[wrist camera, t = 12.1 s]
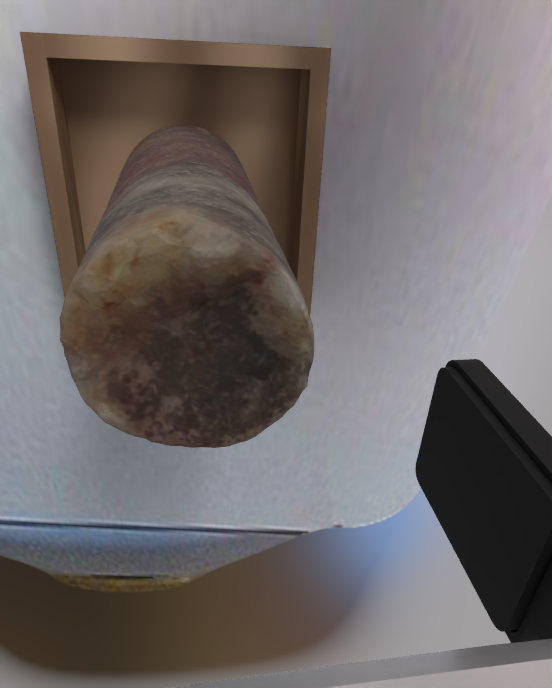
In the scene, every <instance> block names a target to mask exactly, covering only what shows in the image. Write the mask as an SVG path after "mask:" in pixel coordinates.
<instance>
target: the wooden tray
mask: <svg viewBox="0 0 552 688" xmlns="http://www.w3.org/2000/svg"><path fill="white" fill-rule="evenodd" d="M20 35H21V41H22V47H23V53H24V59H25V65H26V71H27V77H28V83H29V89H30V94H31V100H32V106H33V112H34V118H35V124H36V130H37V136H38V142H39V148H40V154H41V159H42V165H43V171H44V177H45V183H46V189H47V195H48V201H49V207H50V213H51V219H52V224H53V230H54V236H55V242H56V248H57V254H58V260H59V266H60V272H61V278H62V284H63V289H64V295H65V298H66V295H67V293H68V290H69V288H70V285H71V283H72V280H73V278H74V276H75V274H76V272H77V270H78V268H79V266H80V263H81V261H82V259H83V257H84V255H85V253H86V251H87V249H88V246H89V243H90V241H91V238H92V236H93V234H94V232H95V230H96V228H97V226H98V224H99V222H100V220H101V218H102V216H103V214H104V212H105V210H106V208H107V205H108V202H109V199H110V197H111V195H112V193H113V190H114V188H115V185H116V183H117V181H118V178H119V176H120V173H121V171H122V169H123V167H124V165H125V162H126V160H127V158H128V156H129V155H130V153H131V152H132V150H133V149H134V148H135V147H136V146H137V145H138V144H139V143H140V142H141V141H142V140H143V139H144V138H145V137H146V136H147V135H149V134H150V133H152V132H154V131H156V130H159V129H161V128H163V127H166V126H174V125H187V126H194V127H199V128H203V129H207V130H209V131H211V132H213V133H215V134H216V135H217V136H219V137H221V138H222V139H223V140H224V141H225V142H226V143H227V144H228V145H229V146H230V147H231V149H232V150H233V151H234V152H235V154H236V155H237V157H238V159H239V161H240V163H241V164H242V166H243V168H244V170H245V173H246V175H247V177H248V179H249V181H250V183H251V185H252V187H253V190H254V192H255V195H256V197H257V200H258V203H259V205H260V206H261V208H262V211H263V213H264V215H265V217H266V219H267V221H268V223H269V225H270V227H271V229H272V231H273V233H274V236H275V238H276V240H277V242H278V243H279V245H280V247H281V249H282V251H283V254H284V256H285V258H286V260H287V262H288V264H289V266H290V268H291V270H292V272H293V274H294V276H295V278H296V280H297V282H298V285H299V287H300V290H301V292H302V295H303V298H304V300H305V303H306V305H307V310H308V313H309V316H310V310H311V297H312V285H313V272H314V259H315V247H316V234H317V221H318V208H319V196H320V183H321V170H322V158H323V145H324V132H325V120H326V107H327V94H328V81H329V69H330V56H331V48H317V47H298V46H279V45H260V44H241V43H222V42H203V41H184V40H165V39H146V38H127V37H108V36H89V35H70V34H51V33H32V32H20Z"/></svg>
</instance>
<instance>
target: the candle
mask: <svg viewBox="0 0 552 688" xmlns="http://www.w3.org/2000/svg"><path fill="white" fill-rule="evenodd" d="M60 327H61V333H60V341H61V343H62V345H63V347H64V354H65V357H66V359H67V362H68V365H69V369H70V372H71V376H72V378H73V380H74V382H75V384H76V386H77V388H78V390H79V392H80V395H81V397H82V398H83V400H84V402H85V403H86V404H87V405H88V406H89V407H90V408H91V409H92V410H93V411H94V412H95V413H96V414H97V415H98V416H99V417H100V418H101V419H102V420H103V421H104V422H105V423H107V424H109V425H112V426H113V427H115V428H117V429H119V430H121V431H123V432H125V433H127V434H130V435H133V436H136V437H141V438H145V439H147V440H149V441H151V442H156V443H160V444H164V445H170V446H184V447H211V448H217V447H226V446H230V445H233V444H237V443H240V442H244V441H247V440H249V439H251V438H253V437H255V436H257V435H258V434H259V433H261V432H262V431H263V430H264V429H266V428H267V427H269V426H270V425H272V424H273V423H274V422H276V421H277V420H279V419H280V418H282V417H283V415H284V414H285V413H286V412H287V411H288V410H289V409H290V408H291V407H293V406H294V404H295V402H296V401H297V399H298V398H299V396H300V394H301V393H302V391H303V390H304V389H305V388H306V386H307V382H308V376H309V371H310V368H311V365H312V361H313V356H314V335H313V326H312V322H311V319H310V316H309V313H308V310H307V305H306V303H305V300H304V298H303V295H302V292H301V290H300V287H299V285H298V282H297V280H296V278H295V276H294V274H293V272H292V270H291V268H290V266H289V264H288V262H287V260H286V258H285V256H284V254H283V251H282V249H281V247H280V245H279V243H278V242H277V240H276V238H275V236H274V233H273V231H272V229H271V227H270V225H269V223H268V221H267V219H266V217H265V215H264V213H263V211H262V208H261V206H260V205H259V203H258V200H257V197H256V195H255V192H254V190H253V187H252V185H251V183H250V181H249V179H248V177H247V175H246V173H245V170H244V168H243V166H242V164H241V163H240V161H239V159H238V157H237V155H236V154H235V152H234V151H233V150H232V149H231V147H230V146H229V145H228V144H227V143H226V142H225V141H224V140H223V139H222V138H221V137H219V136H217V135H216V134H215V133H213V132H211V131H209V130H207V129H203V128H199V127H194V126H187V125H174V126H166V127H163V128H161V129H159V130H156V131H154V132H152V133H150V134H149V135H147V136H146V137H145V138H144V139H143V140H142V141H141V142H140V143H139V144H138V145H137V146H136V147H135V148H134V149H133V150H132V152H131V153H130V155H129V156H128V158H127V160H126V162H125V165H124V167H123V169H122V171H121V173H120V176H119V178H118V181H117V183H116V185H115V188H114V190H113V193H112V195H111V197H110V199H109V202H108V205H107V208H106V210H105V212H104V214H103V216H102V218H101V220H100V222H99V224H98V226H97V228H96V230H95V232H94V234H93V236H92V238H91V241H90V243H89V246H88V249H87V251H86V253H85V255H84V257H83V259H82V261H81V263H80V266H79V268H78V270H77V272H76V274H75V276H74V278H73V280H72V283H71V285H70V288H69V290H68V293H67V295H66V298H65V301H64V305H63V309H62V313H61V316H60Z"/></svg>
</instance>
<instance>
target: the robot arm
mask: <svg viewBox="0 0 552 688" xmlns="http://www.w3.org/2000/svg"><path fill="white" fill-rule="evenodd" d="M416 476H417V480H418V482H419V484H420V486H421V488H422V490H423V492H424V494H425V496H426V498H427V499H428V501H429V503H430V505H431V507H432V509H433V511H434V513H435V514H436V516H437V518H438V520H439V522H440V524H441V526H442V528H443V529H444V531H445V533H446V535H447V537H448V539H449V541H450V543H451V544H452V547H453V549H454V550H455V552H456V554H457V556H458V558H459V559H460V562H461V564H462V566H463V568H464V569H465V571H466V573H467V575H468V577H469V579H470V581H471V583H472V584H473V586H474V588H475V590H476V592H477V594H478V596H479V598H480V599H481V602H482V603H483V605H484V607H485V609H486V611H487V613H488V615H489V616H490V618H491V620H492V622H493V624H494V625H495V627H496V628H497V629H498V630H500V631H505V632H506V634H507V636H508V638H509V640H510V641H511V643H508V644H498V645H490V646H482V647H474V648H466V649H459V650H451V651H443V652H435V653H428V654H419V655H411V656H403V657H396V658H388V659H380V660H372V661H365V662H356V663H349V664H341V665H334V666H326V667H318V668H311V669H303V670H296V671H288V672H280V673H273V674H266V675H258V676H250V677H243V678H235V679H228V680H221V681H213V682H205V683H198V684H190V685H183V686H175V687H168V688H552V437H551V435H550V434H549V433H548V432H547V431H546V430H545V429H544V428H543V427H542V426H541V425H540V424H539V423H538V421H537V420H536V419H535V418H534V417H533V416H532V415H531V414H530V413H529V412H528V411H527V410H526V409H525V408H524V406H523V405H522V404H521V403H520V402H519V401H518V400H517V399H516V398H515V397H514V396H513V395H512V394H511V392H510V391H509V390H508V389H507V388H506V387H505V386H504V385H503V384H502V383H501V382H500V381H499V380H498V379H497V377H496V376H495V375H494V374H493V373H492V372H491V371H490V370H489V369H488V368H487V367H486V366H485V365H484V364H483V362H481V361H480V360H477V359H470V360H451V361H449V362H448V363H447V365H446V367H445V368H441V369H440V370H439V372H438V375H437V379H436V383H435V387H434V391H433V395H432V400H431V404H430V408H429V412H428V416H427V420H426V425H425V429H424V433H423V437H422V441H421V445H420V450H419V454H418V458H417V462H416Z"/></svg>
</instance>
